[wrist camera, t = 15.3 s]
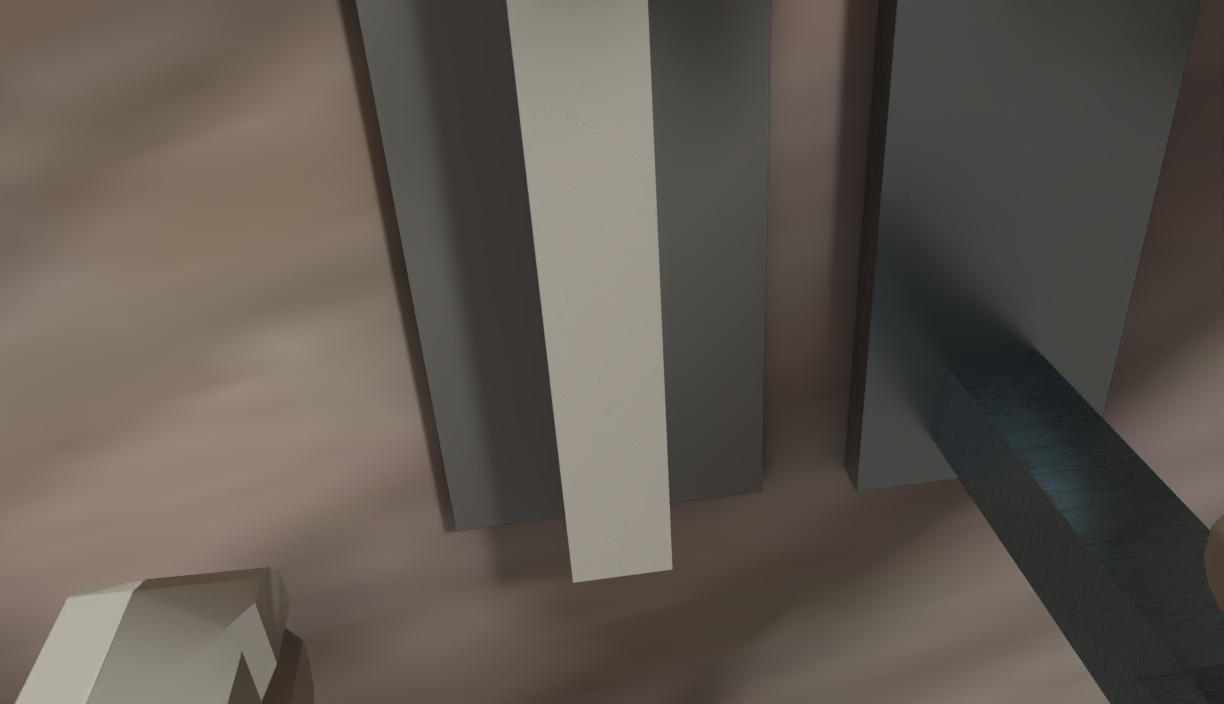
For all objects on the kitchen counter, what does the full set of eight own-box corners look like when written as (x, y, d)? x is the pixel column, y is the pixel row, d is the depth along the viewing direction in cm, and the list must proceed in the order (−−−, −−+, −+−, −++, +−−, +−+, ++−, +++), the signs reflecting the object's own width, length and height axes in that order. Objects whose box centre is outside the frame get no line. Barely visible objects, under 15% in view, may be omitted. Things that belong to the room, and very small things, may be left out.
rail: (585, -865, 17) (605, -976, 14) (656, 505, 32) (672, 569, 30) (407, -860, 17) (394, -971, 14) (565, 517, 32) (573, 582, 30)
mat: (778, -854, 18) (788, -873, 17) (757, 480, 33) (761, 491, 33) (201, -836, 17) (193, -854, 16) (456, 518, 32) (456, 530, 32)
